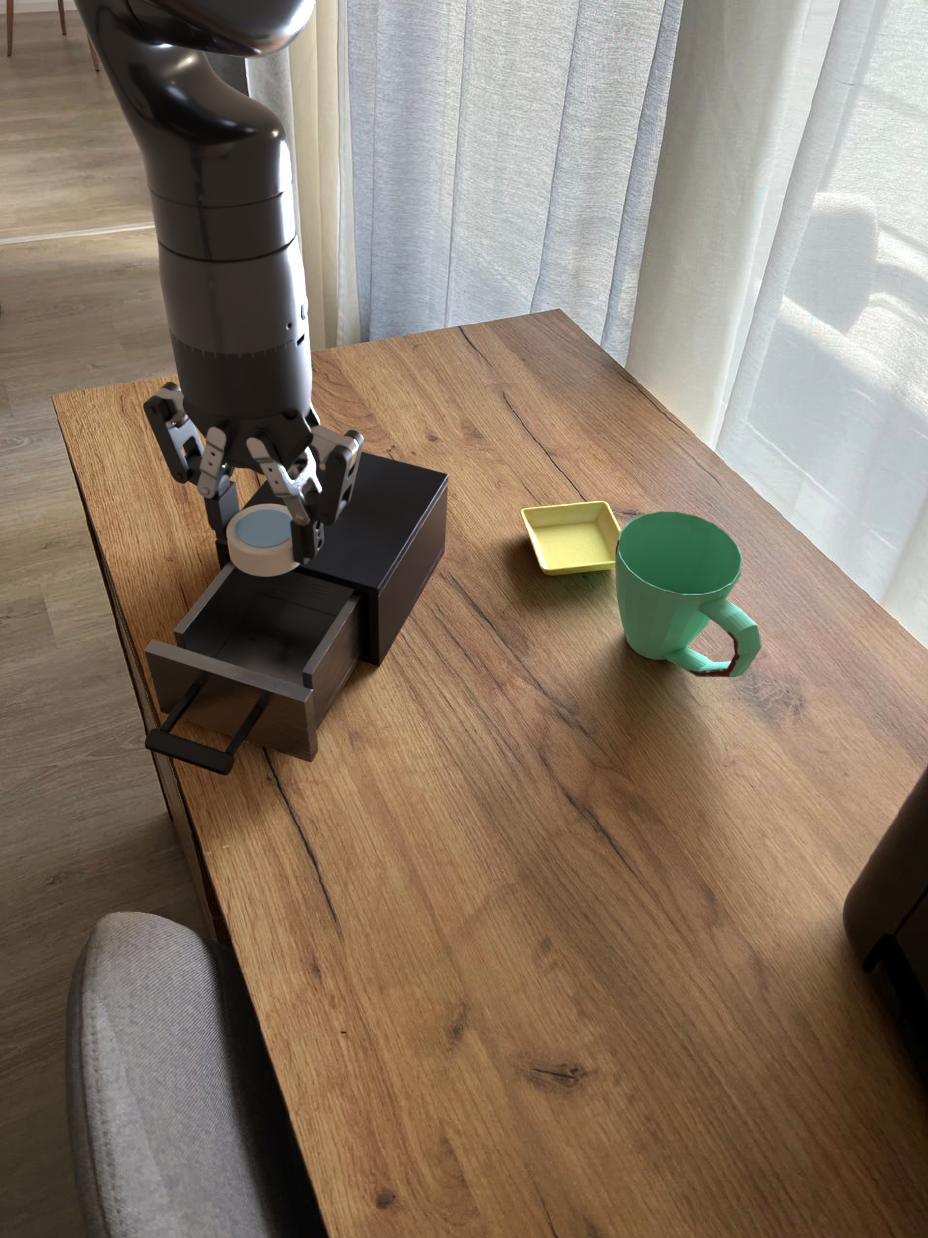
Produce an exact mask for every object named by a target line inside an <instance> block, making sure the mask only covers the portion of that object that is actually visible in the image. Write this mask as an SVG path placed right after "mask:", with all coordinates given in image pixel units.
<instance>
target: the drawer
mask: <svg viewBox="0 0 928 1238" xmlns="http://www.w3.org/2000/svg"><path fill="white" fill-rule="evenodd" d="M173 636H174V640H175V644H176V645H174V644H171V643H167V642H164V641H160V640H159V639H154V638H152V639H151V640H150V641H149V643H148V644H147V645H146V647H144V649H143V651H144V652H143V653H144V656H145V660H146V663H147V667H148V671H149V674H150V677H151V681H152V684H153V688H154V691H155V692H154V693H155V695H156V699H157V702H158V706H159V710H160V713H162V714H165V715H168V716H167V717H166V718H165V720H164V721H163V722H162V723H161V725H160V726H159V728H156V727H155V728H152V729H150V730H149V731H148V732H147V734H146V737H145V740H144V747H145V749H146V750H147V751H151V752H153V753H157V754H159V755H163V756H164V757H168V758H171V759H173V760H177V761H179V762H182V763H186V764H188V765H191V766H195V767H198V768H200V769H203V770H206V771H208V772H212V773H214V774H216V775H217V774H218V775H220V776H223V777H227V776H228V775H230V773H231V772H232V770H233V768H234V766H235V762H236V758H235V757H236V755H237V753H238V751H239V750H240V749H241V747H242V745H243V743H244V742H248V743H251V744H254V745H257V746H259V747H263V748H266V749H269V750H271V751H274V752H278V753H281V754H284V755H286V756H289V757H292V758H296V759H297V760H298V759H299V760H302V761H305V762H308V763H310V764H311V763H313V761H314V759H315V757H316V756H317V754H318V753H319V743H318V733H317V731H318V730H319V729H320V727H321V726H322V724H323V722H324V720H325V719H326V717H327V715H328V714H329V712H330V710H331V708H332V707H333V705H334V703H335V702H336V700H337V699H338V697H339V695H340V693H341V691H342V690H343V688H344V686H345V685H346V683H347V681H348V680H349V678H350V676H351V674H352V673H353V671H354V669H355V668H356V666H357V664H358V663H359V662H360V661H359V659H360V658H361V656H362V654H363V653H364V651H365V649H366V647H367V646H368V644H369V642H370V641H369V605H368V593H364V592H361V591H358V590H354V589H351V588H347V587H344V586H341V585H337V584H334V583H330V582H327V581H324V580H320V579H317V578H313V577H310V576H307V575H303V574H300V573H296V572H293V571H289V572H287V573H284V574H281V575H277V576H269V577H261V576H254V575H250V574H247V573H245V572H243V571H241V570H240V569H238V568H237V567H236V566H235V565H234V564H233V562H232V561H231V559H230V560H229V562H228V563H227V564H226V565H225V567H224V568H223V569H222V570H221V572H220V571H219V573H218V574H217V575H216V577H215V578H214V579H213V580H212V582H211V583H210V584H209V585H208V587H207V588H206V589H205V590H204V592H203V593H202V594H201V595H200V596H199V598H198V599H197V600H196V601H195V603H194V604H193V606H191V608H190V609H189V610H188V611H187V613H186V614H185V615H184V617H183V618H181V620H180V622H178V624H177V625H176V627H175V628H174V629H173ZM180 720H182V721H185V722H189V723H191V724H195V725H198V726H200V727H204V728H206V729H208V730H209V729H210V730H213V731H215V732H218V733H221V734H225V735H227V736H229V737H232V739H231V740H230V742H229V743H228V745H227V746H226V747H225V749H224V751H223V750H221V749H218V748H215V747H212V746H209V745H207V744H203V743H200V742H197V741H195V740H192V739H189V738H185V737H183V736H180V735H176V734H175V733H171V732H172V731H173V729H174V728H175V726H176V725H177V724H178V722H179V721H180Z"/></svg>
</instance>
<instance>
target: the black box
mask: <svg viewBox="0 0 928 1238" xmlns="http://www.w3.org/2000/svg"><path fill="white" fill-rule="evenodd" d="M308 448H309V450H310V452H311V454H312V456H313V458H314V461H315V463H316V471H315V474H316V477H317V479H318V481H319V483H320V486H321V488H322V485H323V480H324V475H325V470H321V469H320V467H319V464H320V463H321V462H320V460H319V453H318V451H317V450H316V448H315V447H313V446H312V445H309V446H308ZM290 467H291V466H290ZM290 467H289V468H288V469H287V470H286V472H287V471H288V470H289V469H290ZM301 493H302V495H303V497H304V494H303V492H302V490H301ZM448 494H449V474H448V473H446V472H442V471H438V470H434V469H431V468H427V467H422V466H419V465H416V464H411V463H407V462H403V461H401V460H400V461H399V460H396V459H392V458H388V457H384V456H381V455H377V454H373V453H369V452H366V451H362V452H361V456H360V461H359V465H358V469H357V474H356V478H355V483H354V487H353V491H352V496H351V500H350V501H349V503H348V504H347V506H345V507H344V509H343V510H342V511H341V513H340V514H339V515H338V518H337V520H336V521H335V522H334V524H333V525H330V526H328V525H324V524H323V529H324V530H323V531H324V543H323V546H322V547H321V549H320V550H319V551H318V553H317V554H316V556H315V557H314V558H313V559H310V560H309V561H308V563H307V564H306V565H303V564H300V565H298V566H297V567H296V568H295V569H293V570H291V571H293V572H296V573H300V574H303V575H307V576H310V577H313V578H317V579H320V580H324V581H327V582H330V583H334V584H337V585H341V586H344V587H347V588H351V589H354V590H358V591H361V592H364V593H368V605H369V641H370V642H369V644H368V646H367V647H366V649H365V651H364V653H363V654H362V656H361V658H360V659H359V661H358V662H361V663H364V664H367V665H370V666H374V667H377V668H380V667H381V666H382V663H383V661H384V660H385V658H386V656H387V655H388V653H389V651H390V649H391V648H392V646H393V644H394V643H395V641H396V639H397V638H398V635H399V634H400V631H402V628H403V627H404V624H405V623H406V622H407V620H408V617H409V616H410V614H411V612H412V610H413V609H414V607H415V605H416V604H417V601H418V600H419V598H420V596H421V594H422V593H423V591H424V589H425V587H426V585H427V584H428V583H429V581H430V579H431V577H432V575H433V573H434V572H435V570H436V568H437V566H438V564H439V563H440V561H441V559H442V557H443V556H444V554H445V552H446V551H445V550H446V536H447V535H446V534H447V533H446V532H447V516H448V515H447V514H448V513H447V512H448V496H449V495H448ZM260 504H277V505H282V506H286V504H285V502H284V500H283V498H282V497H276V496H275V495H274V493H273V491H272V489H271V487H270V485H269V483H268V481H267V479H265V480H264V482H263V483H262V484H261V485H260V487H258V489H257V490H256V491H255V493H254V494H253V495H252V496H251V497H250V498H249V500H248V501H247V502H246V504H244V506H243V507H242V508H241V509H240V511H242V510H244V509H246V508H248V507H251V506H255V505H260ZM286 507H287V506H286ZM214 542H215V543H214V544H215V550H216V556H217V560H218V561H217V562H218V566H219V573H220V572H221V570H222V569H223V568H224V567H225V565H226V564H227V563H228V562H229V560H230V559H231V558H230V554H229V548H228V542H226V541H223V540H219V539H217V538H216V540H214Z"/></svg>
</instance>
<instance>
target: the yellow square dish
mask: <svg viewBox="0 0 928 1238" xmlns="http://www.w3.org/2000/svg"><path fill="white" fill-rule="evenodd" d="M519 513H520V517H521V519H522V522H523V525H524V527H525V530H526V532H527V535H528V538H529V540H530V543H531V546H532V549H533V551H534V555H535V557H536V559H537V562H538V565H539V567H540V570H541V572H542V573H543V574H545V575H546V576H551V577H553V576H563V575H571V574H580V573H587V572H588V573H589V572H597V571H606V570H615V553H616V546H617V541H618V536H619V532H620V531H621V530H622V529H621V528H620V526H619V524H618V521H617V519H616V517H615V515H614V512H613V510H612V509H611V506H610V505H609V503H608V502H606V501H603V500H598V501H597V500H595V501H586V502H576V503H568V504H555V505H546V506H534V507H525V508H521V509H520V510H519Z"/></svg>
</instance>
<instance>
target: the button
mask: <svg viewBox="0 0 928 1238" xmlns="http://www.w3.org/2000/svg"><path fill="white" fill-rule="evenodd" d="M292 519H293V518H292V516H291V514H290V512H289V510H288V508H287V507H286V506H282V505H277V504H260V505H255V506H251V507H248V508H246V509H244V510H242V511H241V510H240V512H238V513H237V514H236V515H235V516H233V518H232V519H231V520H230V521H229V523H228V525H227V529H226V536H227V542H228V548H229V554H230V558H231V561H232V562H233V564H234V565H235V566H236V567H237V568H238V569H240V570H241V571H243V572H245V573H247V574H250V575H254V576H261V577H269V576H277V575H281V574H284V573H287V572H289V571H291V570H293V569H295V568H296V567H297V566H298V565H300V563H296V562H294V556H293V547H292V537H291V528H290V522H291V520H292Z"/></svg>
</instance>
